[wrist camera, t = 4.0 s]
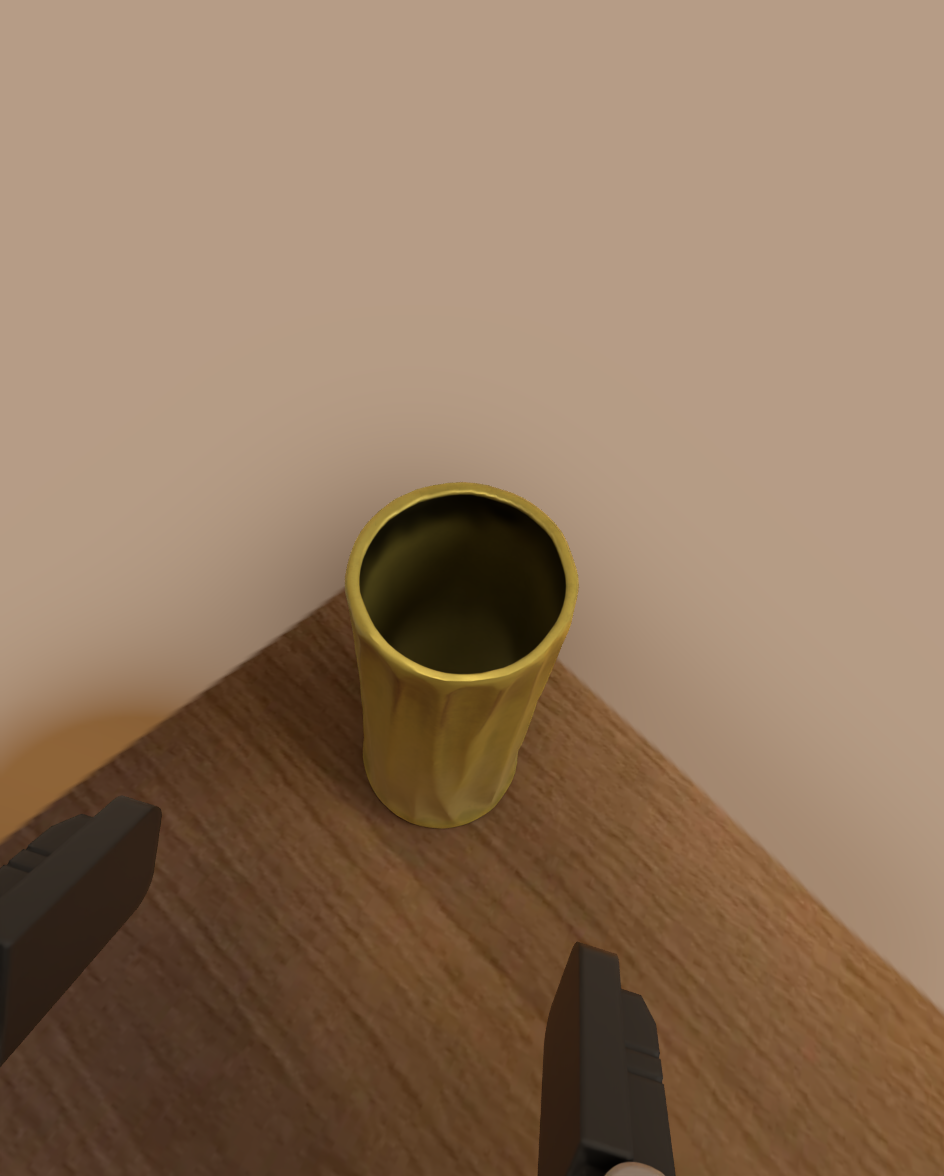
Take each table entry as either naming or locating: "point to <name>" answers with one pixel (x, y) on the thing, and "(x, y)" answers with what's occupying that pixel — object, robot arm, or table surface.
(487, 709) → the vase
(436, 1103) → the table surface
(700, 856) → the table surface
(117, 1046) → the table surface
